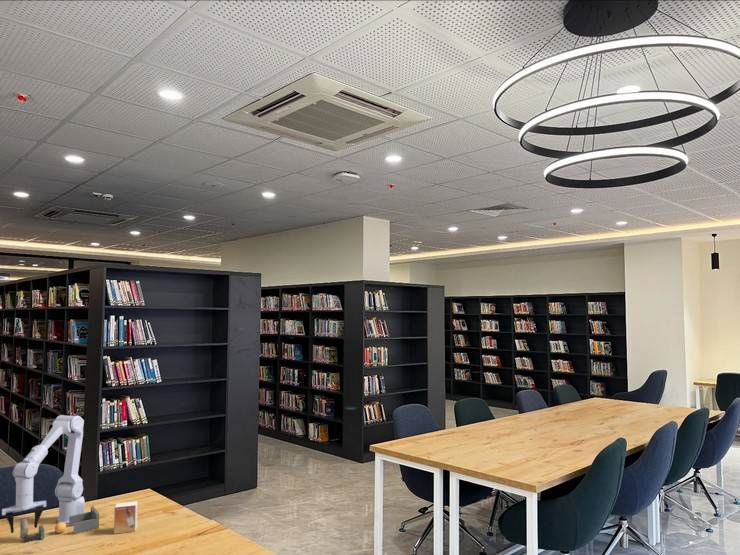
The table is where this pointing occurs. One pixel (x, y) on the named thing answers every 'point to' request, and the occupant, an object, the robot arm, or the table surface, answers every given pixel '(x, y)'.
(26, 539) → the track
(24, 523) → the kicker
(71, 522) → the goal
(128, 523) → the small box
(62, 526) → the ball
